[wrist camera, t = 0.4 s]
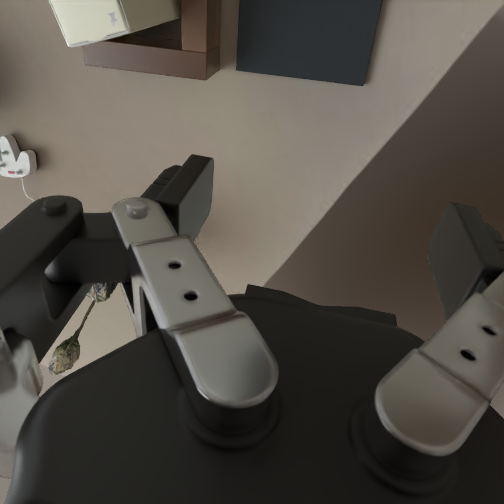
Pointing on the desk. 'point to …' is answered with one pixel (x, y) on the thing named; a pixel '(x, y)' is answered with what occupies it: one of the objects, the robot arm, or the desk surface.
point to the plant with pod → (70, 348)
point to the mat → (308, 38)
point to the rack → (167, 46)
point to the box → (110, 17)
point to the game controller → (15, 159)
